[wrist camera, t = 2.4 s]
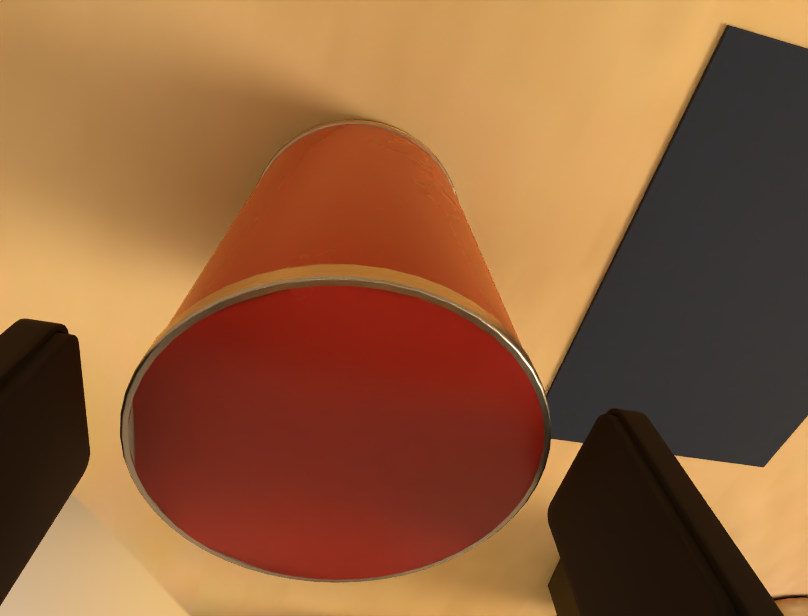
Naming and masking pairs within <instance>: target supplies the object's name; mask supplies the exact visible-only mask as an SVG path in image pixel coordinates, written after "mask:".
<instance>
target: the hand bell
mask: <svg viewBox="0 0 808 616" xmlns="http://www.w3.org/2000/svg"><path fill="white" fill-rule="evenodd" d="M775 603H776V604H777V606H778V607H779V609H780V610H781V612H782V613H783V615H784V616H808V598H787V599H781V600H775Z"/></svg>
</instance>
